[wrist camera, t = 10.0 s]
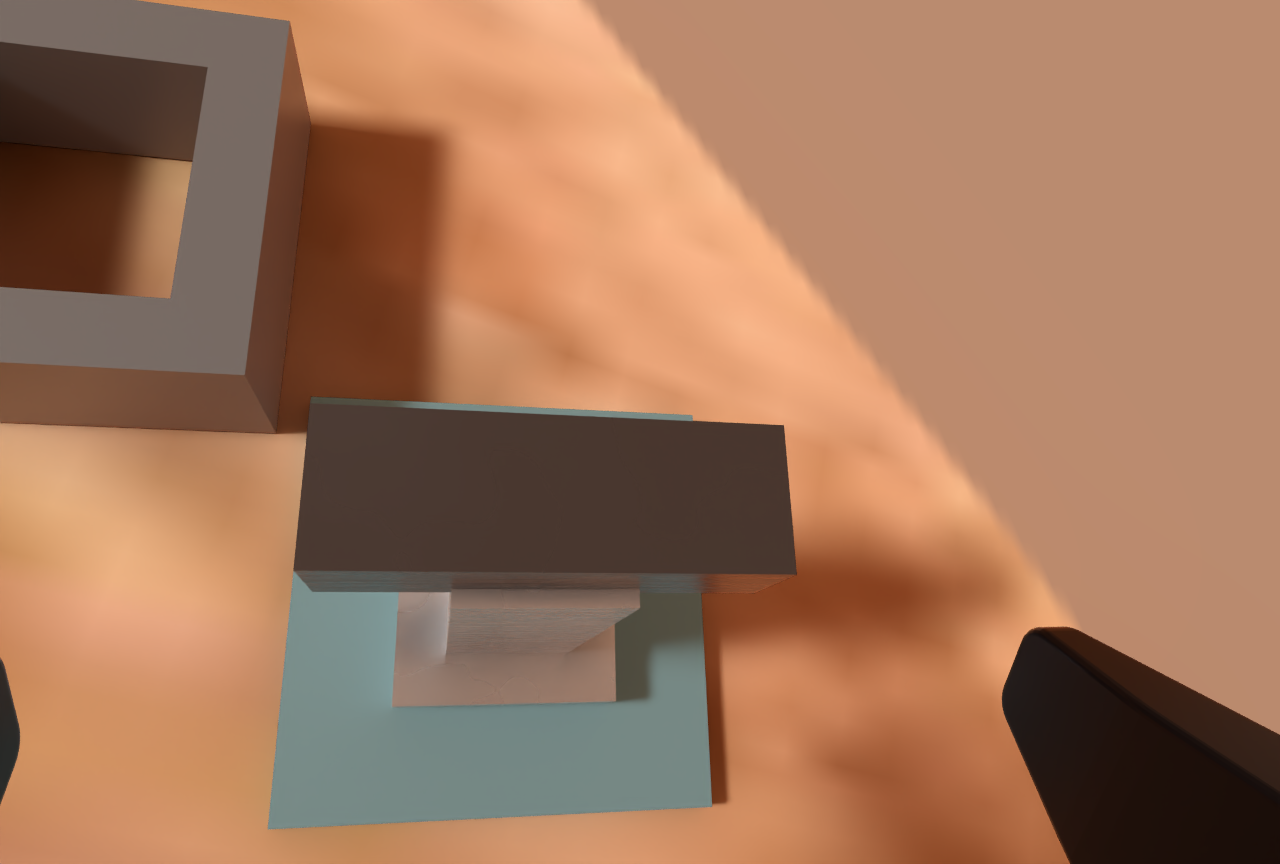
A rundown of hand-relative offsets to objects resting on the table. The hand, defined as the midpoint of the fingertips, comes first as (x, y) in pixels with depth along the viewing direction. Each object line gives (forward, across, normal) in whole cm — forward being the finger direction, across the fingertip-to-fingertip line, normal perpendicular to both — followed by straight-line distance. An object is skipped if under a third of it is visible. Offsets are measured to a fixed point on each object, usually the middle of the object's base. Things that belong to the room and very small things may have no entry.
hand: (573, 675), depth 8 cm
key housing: (+16, +9, +1) cm, 18 cm away
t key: (+10, 0, +7) cm, 12 cm away
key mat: (+10, 0, +7) cm, 12 cm away
